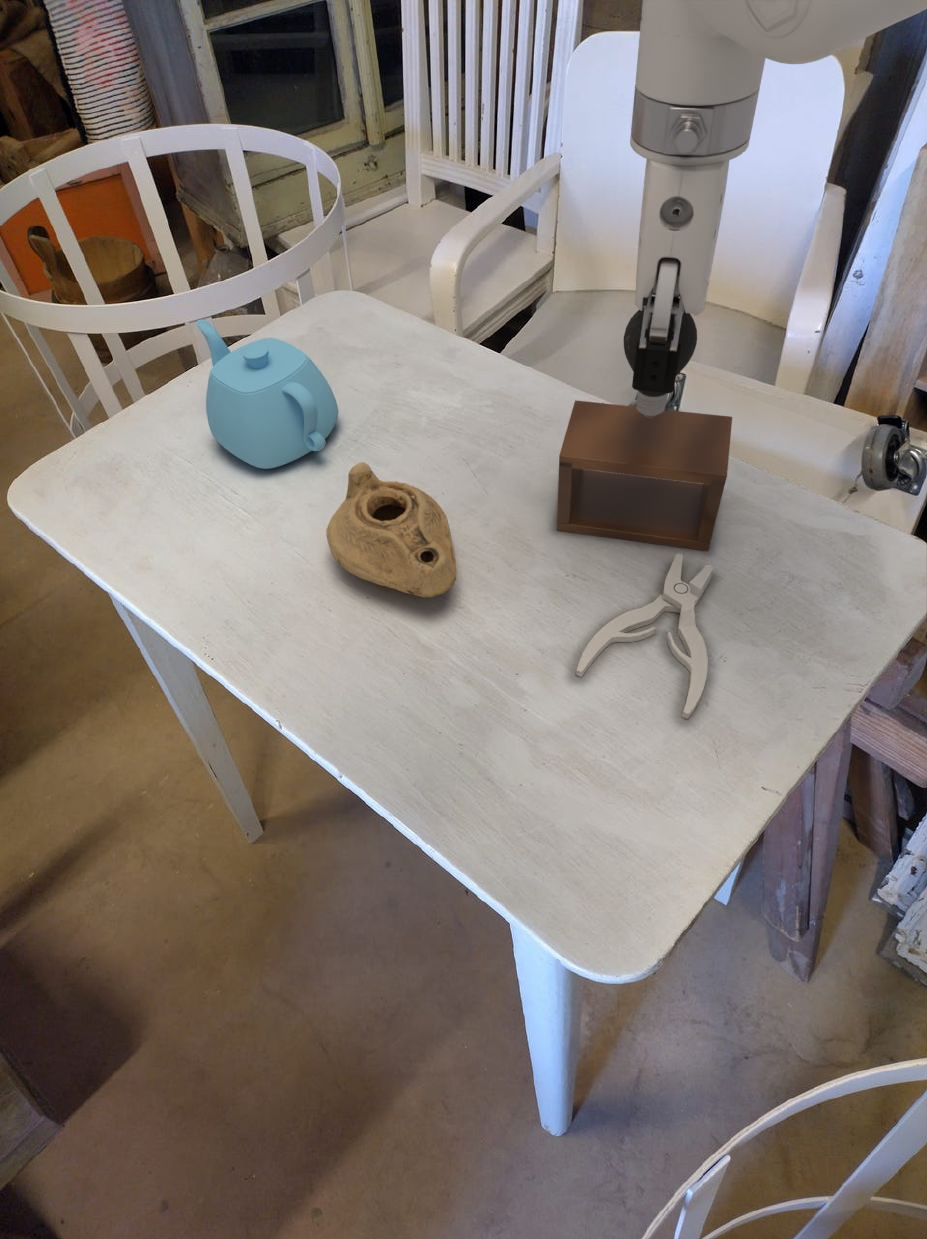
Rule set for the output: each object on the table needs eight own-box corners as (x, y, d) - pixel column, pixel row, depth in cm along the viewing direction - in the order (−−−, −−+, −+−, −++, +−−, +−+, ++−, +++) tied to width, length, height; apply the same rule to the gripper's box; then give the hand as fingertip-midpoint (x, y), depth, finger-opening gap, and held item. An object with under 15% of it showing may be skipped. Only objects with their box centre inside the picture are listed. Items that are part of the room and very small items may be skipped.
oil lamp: (416, 641, 70) (405, 578, 63) (307, 557, 77) (288, 493, 71) (503, 570, 74) (501, 505, 68) (393, 497, 81) (382, 432, 75)
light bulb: (645, 386, 72) (659, 278, 64) (697, 413, 69) (718, 303, 61) (602, 415, 70) (611, 306, 62) (653, 444, 67) (669, 334, 59)
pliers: (574, 662, 65) (642, 541, 73) (573, 674, 66) (640, 553, 74) (693, 709, 62) (751, 577, 70) (690, 720, 63) (747, 589, 71)
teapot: (243, 290, 88) (354, 348, 79) (267, 376, 96) (371, 436, 88) (144, 342, 82) (252, 410, 74) (179, 428, 91) (280, 498, 82)
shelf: (714, 493, 79) (732, 416, 72) (708, 551, 74) (727, 475, 67) (570, 475, 82) (575, 400, 75) (556, 530, 77) (559, 455, 70)
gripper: (747, 178, 46) (696, 438, 60) (758, 70, 56) (712, 313, 70) (613, 172, 47) (594, 426, 61) (648, 68, 58) (624, 306, 72)
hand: (657, 364), depth 65 cm, fingers closed on light bulb, 5 cm apart
